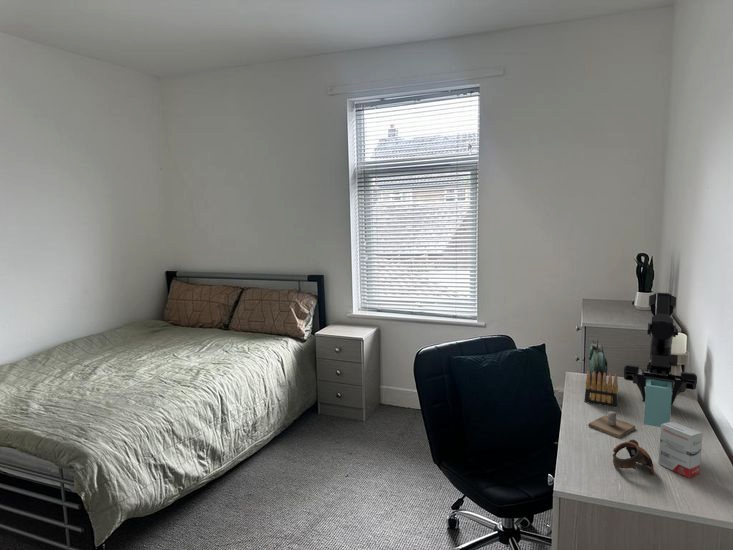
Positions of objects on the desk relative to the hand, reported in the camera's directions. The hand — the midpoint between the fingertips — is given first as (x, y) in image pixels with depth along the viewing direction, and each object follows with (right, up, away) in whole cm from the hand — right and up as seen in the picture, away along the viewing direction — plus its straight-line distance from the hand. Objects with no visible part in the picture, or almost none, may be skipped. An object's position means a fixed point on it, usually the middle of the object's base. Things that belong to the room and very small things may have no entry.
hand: (657, 402), depth 142 cm
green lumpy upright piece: (+3, -7, +43) cm, 44 cm away
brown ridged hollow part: (-12, -16, -9) cm, 22 cm away
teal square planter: (+1, -6, +2) cm, 7 cm away
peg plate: (-7, -12, +14) cm, 19 cm away
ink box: (-1, -15, -11) cm, 19 cm away
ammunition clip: (-1, -9, +32) cm, 33 cm away
